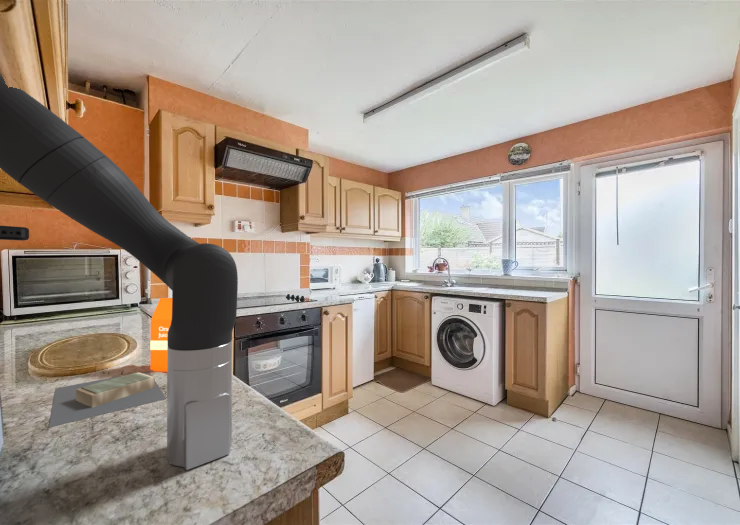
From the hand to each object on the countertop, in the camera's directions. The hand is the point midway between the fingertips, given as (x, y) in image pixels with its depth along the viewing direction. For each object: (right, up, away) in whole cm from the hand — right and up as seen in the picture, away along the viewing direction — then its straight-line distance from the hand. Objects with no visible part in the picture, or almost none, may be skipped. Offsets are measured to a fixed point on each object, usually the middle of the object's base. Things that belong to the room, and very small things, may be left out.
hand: (27, 234), depth 55 cm
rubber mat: (0, -35, +17) cm, 39 cm away
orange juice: (+2, -35, +38) cm, 52 cm away
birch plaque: (-1, -33, +12) cm, 35 cm away
